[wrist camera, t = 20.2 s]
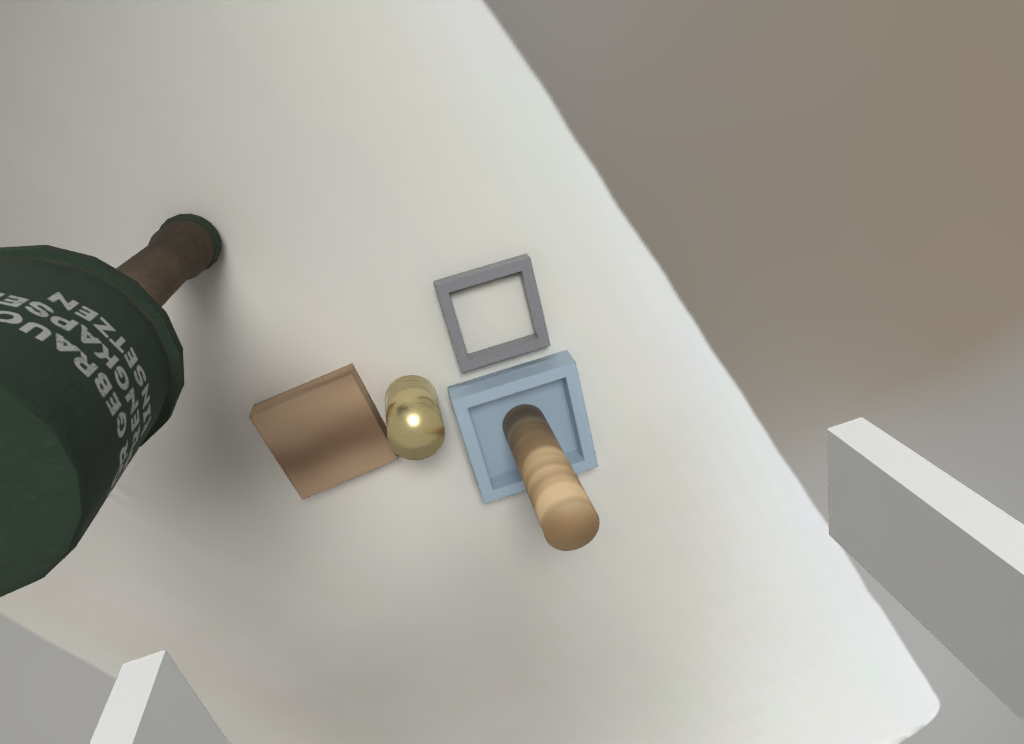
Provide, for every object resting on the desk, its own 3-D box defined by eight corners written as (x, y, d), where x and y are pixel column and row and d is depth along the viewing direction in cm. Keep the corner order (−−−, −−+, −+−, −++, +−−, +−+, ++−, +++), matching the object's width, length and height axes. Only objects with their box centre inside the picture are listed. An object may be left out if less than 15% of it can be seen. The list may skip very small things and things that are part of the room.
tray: (447, 387, 51) (451, 400, 49) (566, 350, 52) (575, 362, 50) (479, 486, 55) (484, 503, 53) (588, 451, 56) (598, 466, 54)
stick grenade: (272, 295, 45) (137, 597, 19) (140, 305, 44) (-216, 648, 17) (250, 170, 42) (47, 318, 15) (106, 175, 40) (-407, 351, 14)
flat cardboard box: (254, 402, 49) (249, 417, 47) (352, 361, 49) (351, 374, 47) (305, 482, 52) (302, 499, 50) (396, 443, 53) (397, 459, 50)
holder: (433, 281, 47) (435, 285, 46) (526, 253, 48) (530, 257, 47) (459, 366, 51) (461, 372, 49) (546, 339, 51) (550, 345, 50)
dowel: (497, 411, 52) (538, 514, 40) (539, 398, 52) (594, 496, 40) (507, 447, 54) (550, 557, 41) (548, 435, 54) (603, 540, 41)
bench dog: (378, 384, 50) (379, 420, 44) (428, 368, 50) (435, 402, 45) (394, 427, 51) (397, 466, 46) (442, 412, 52) (451, 449, 46)
